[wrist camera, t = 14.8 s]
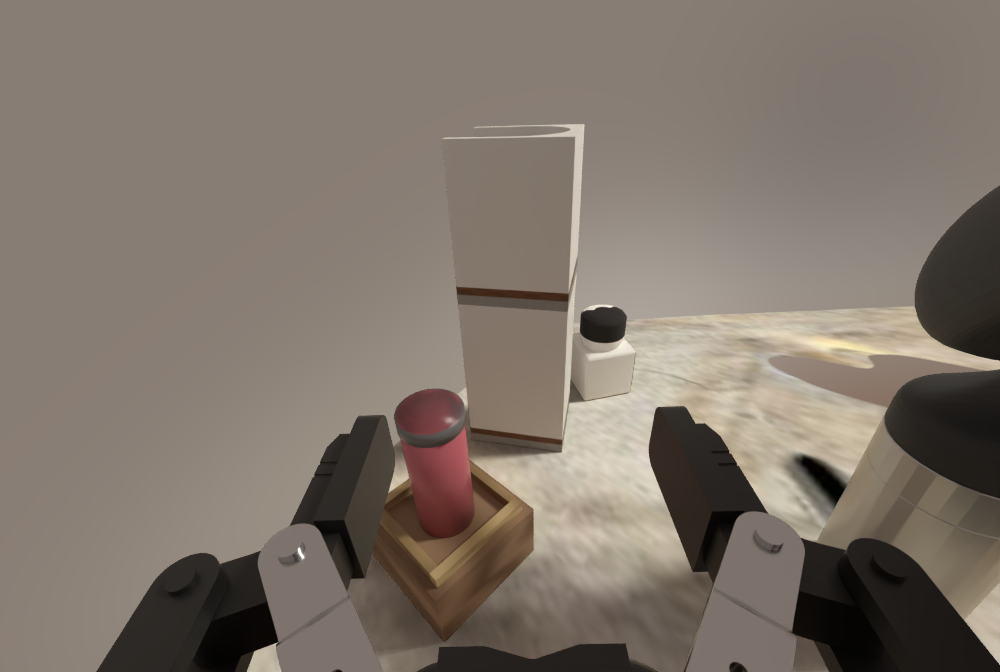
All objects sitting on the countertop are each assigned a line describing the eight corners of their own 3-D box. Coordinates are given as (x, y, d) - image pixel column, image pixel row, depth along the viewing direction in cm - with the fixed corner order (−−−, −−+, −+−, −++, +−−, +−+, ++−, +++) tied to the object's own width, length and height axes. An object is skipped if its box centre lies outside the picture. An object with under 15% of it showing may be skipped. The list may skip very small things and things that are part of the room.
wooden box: (459, 487, 48) (453, 441, 45) (533, 550, 42) (533, 501, 38) (373, 554, 42) (358, 507, 38) (444, 642, 35) (434, 594, 31)
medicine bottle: (631, 393, 62) (641, 319, 55) (584, 402, 60) (589, 327, 54) (609, 365, 68) (616, 296, 61) (565, 373, 66) (569, 303, 60)
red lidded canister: (449, 479, 42) (434, 380, 35) (487, 510, 39) (478, 408, 32) (405, 514, 39) (380, 413, 32) (443, 551, 35) (423, 447, 29)
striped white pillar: (569, 397, 61) (584, 124, 43) (561, 452, 52) (575, 136, 35) (492, 388, 64) (475, 126, 46) (471, 439, 55) (441, 138, 37)
